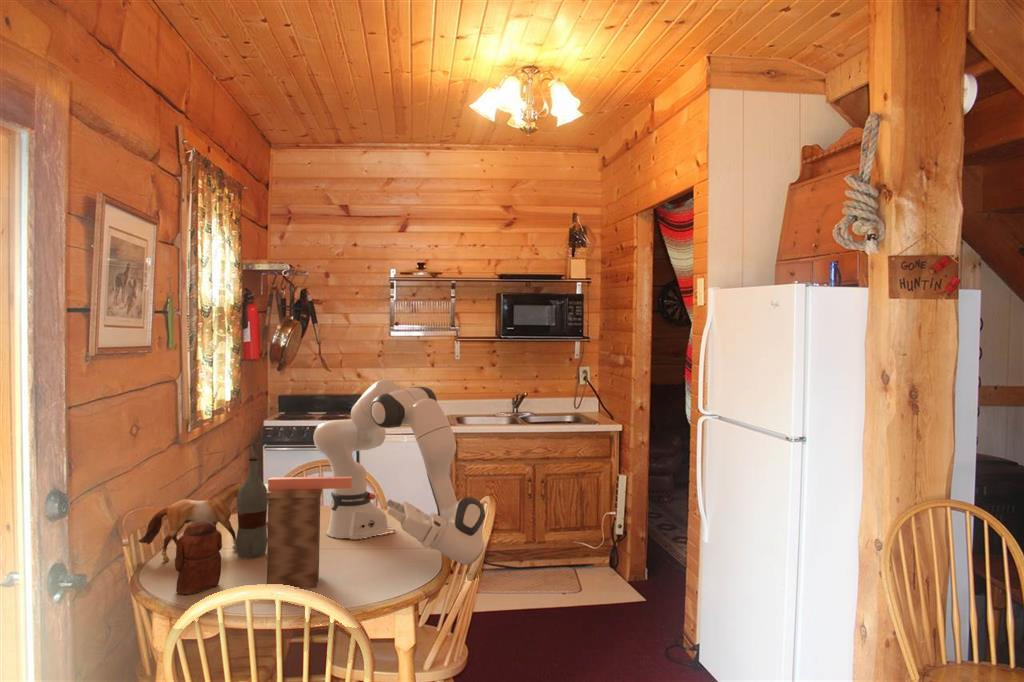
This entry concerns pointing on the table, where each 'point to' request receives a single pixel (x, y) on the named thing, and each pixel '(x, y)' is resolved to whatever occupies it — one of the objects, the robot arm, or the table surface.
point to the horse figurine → (194, 515)
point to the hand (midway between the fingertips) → (388, 505)
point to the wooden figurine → (198, 558)
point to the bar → (309, 483)
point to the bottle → (252, 515)
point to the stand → (293, 537)
